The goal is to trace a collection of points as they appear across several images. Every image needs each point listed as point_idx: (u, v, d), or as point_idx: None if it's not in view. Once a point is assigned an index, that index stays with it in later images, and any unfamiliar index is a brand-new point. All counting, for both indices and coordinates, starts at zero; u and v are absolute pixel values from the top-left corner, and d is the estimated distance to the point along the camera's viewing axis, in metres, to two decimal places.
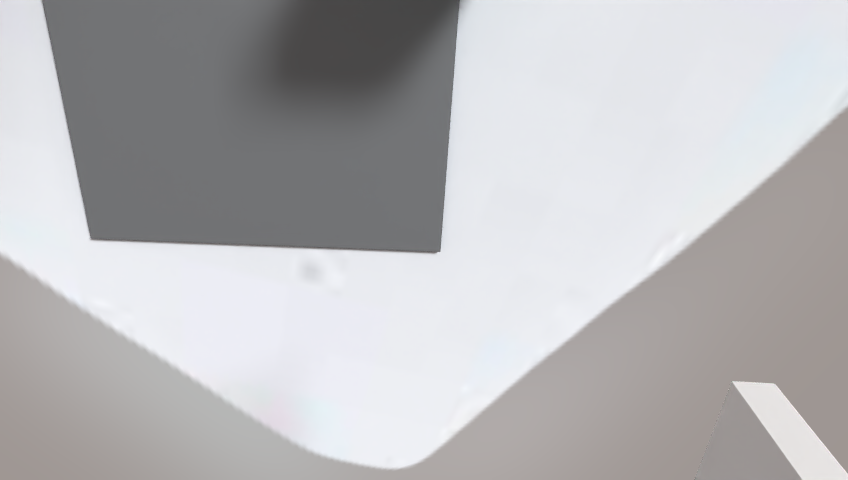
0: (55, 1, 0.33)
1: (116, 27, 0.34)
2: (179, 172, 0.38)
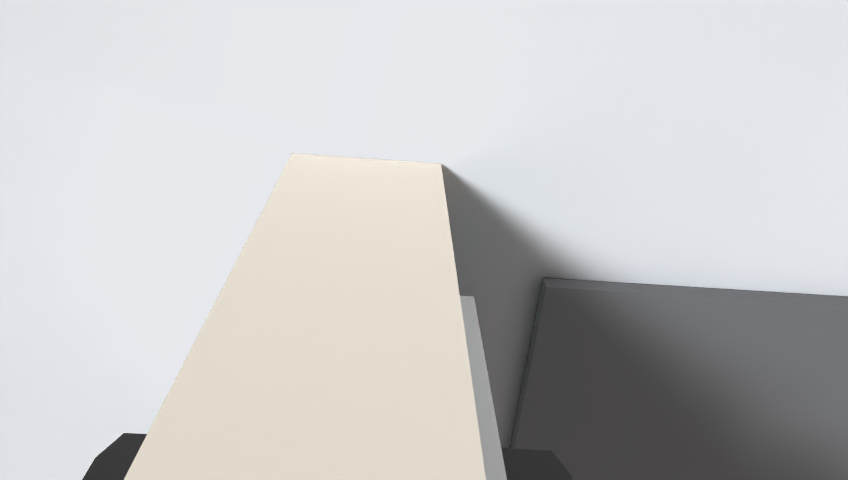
0: None
1: None
2: None
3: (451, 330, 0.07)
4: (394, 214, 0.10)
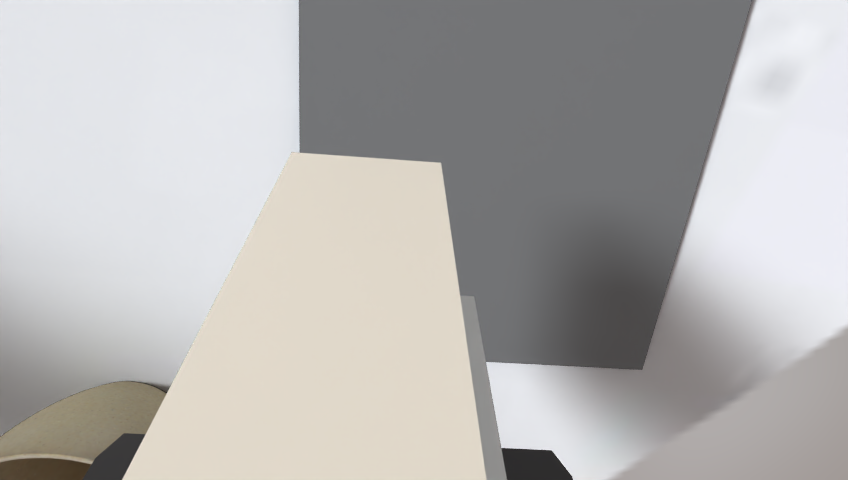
0: None
1: None
2: (569, 250, 0.27)
3: (451, 329, 0.07)
4: (394, 213, 0.10)
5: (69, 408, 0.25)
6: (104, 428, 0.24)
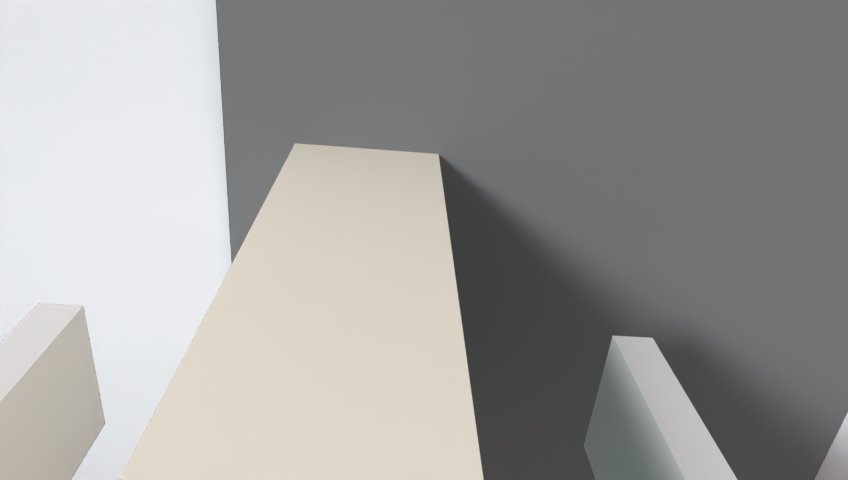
0: None
1: None
2: None
3: (446, 304, 0.08)
4: (393, 200, 0.11)
5: None
6: None
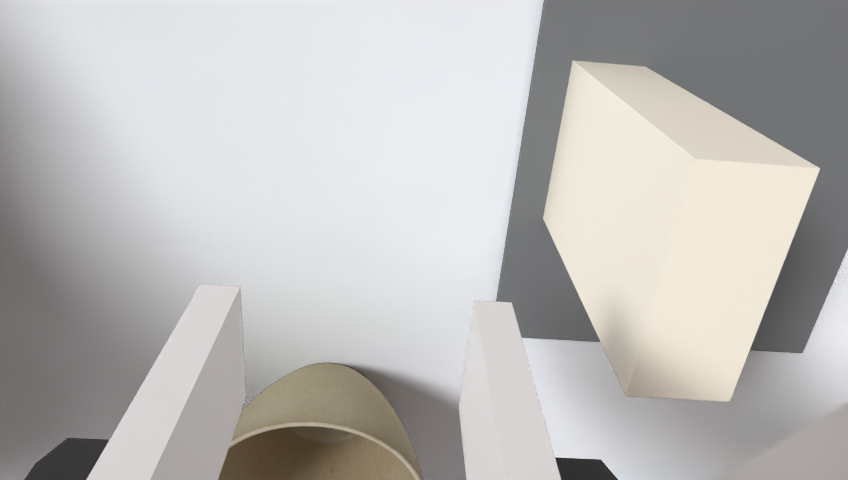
0: (533, 326, 0.31)
1: (568, 276, 0.30)
2: None
3: (703, 102, 0.20)
4: (646, 79, 0.23)
5: (306, 384, 0.28)
6: (347, 401, 0.27)
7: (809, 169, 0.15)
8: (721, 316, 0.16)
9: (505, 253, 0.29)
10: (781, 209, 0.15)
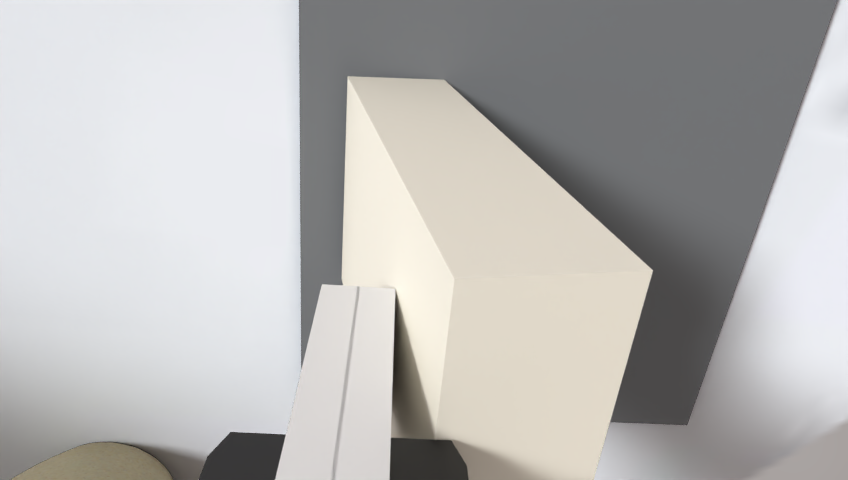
0: None
1: None
2: None
3: (502, 139, 0.14)
4: (436, 101, 0.17)
5: None
6: None
7: (636, 274, 0.09)
8: None
9: (301, 312, 0.23)
10: (602, 335, 0.09)
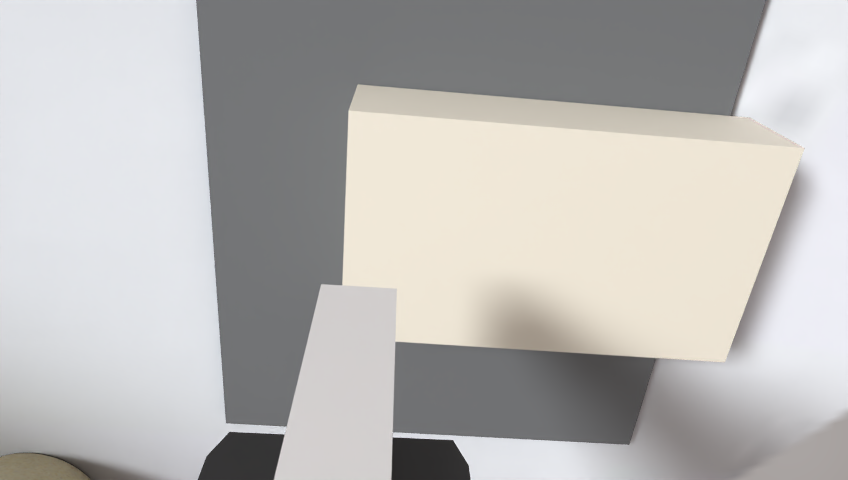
0: (277, 412, 0.24)
1: None
2: None
3: (554, 102, 0.19)
4: (448, 99, 0.18)
5: None
6: None
7: None
8: None
9: (220, 323, 0.22)
10: None
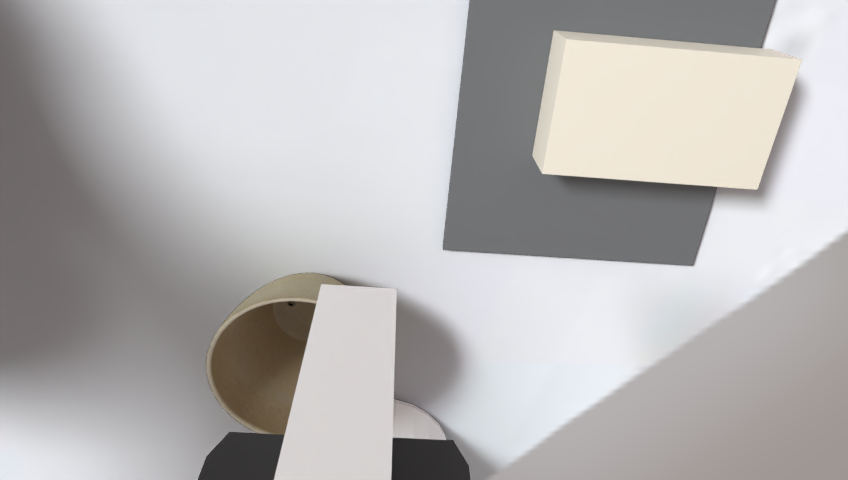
0: (475, 242, 0.39)
1: (500, 199, 0.38)
2: None
3: (662, 40, 0.33)
4: (607, 37, 0.33)
5: (294, 279, 0.36)
6: None
7: (773, 51, 0.34)
8: None
9: (450, 180, 0.37)
10: None
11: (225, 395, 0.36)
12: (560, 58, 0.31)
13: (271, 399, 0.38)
